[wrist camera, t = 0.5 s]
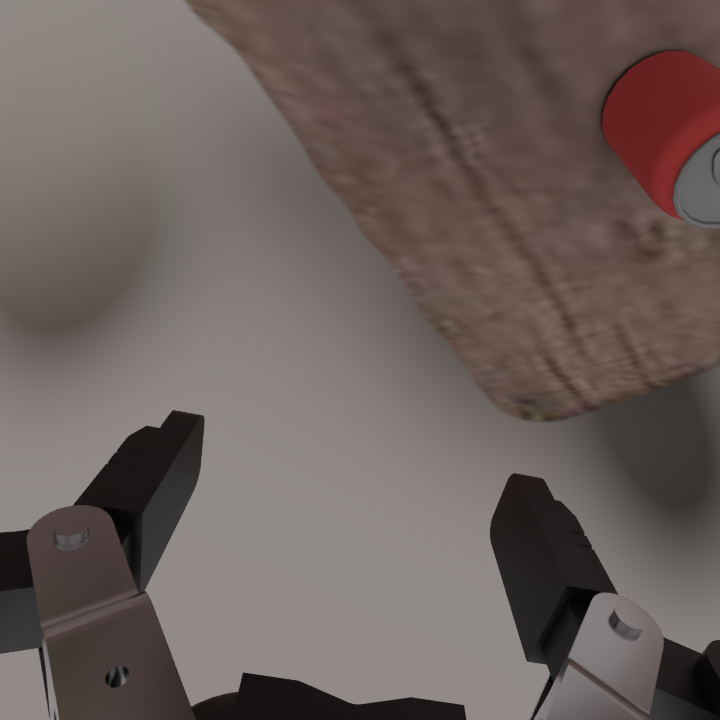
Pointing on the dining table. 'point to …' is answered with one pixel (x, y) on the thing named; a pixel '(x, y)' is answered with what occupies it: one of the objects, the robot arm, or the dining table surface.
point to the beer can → (670, 133)
